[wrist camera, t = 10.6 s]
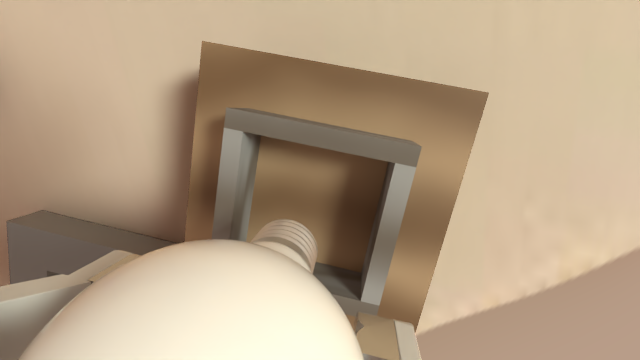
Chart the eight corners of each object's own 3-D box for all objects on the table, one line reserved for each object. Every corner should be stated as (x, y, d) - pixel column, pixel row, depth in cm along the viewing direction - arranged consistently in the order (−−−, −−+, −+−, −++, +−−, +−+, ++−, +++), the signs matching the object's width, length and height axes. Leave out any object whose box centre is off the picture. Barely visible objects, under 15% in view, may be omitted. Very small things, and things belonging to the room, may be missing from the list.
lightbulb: (198, 265, 14) (-269, 716, 4) (256, 144, 13) (-241, 295, 2) (318, 331, 14) (213, 971, 4) (390, 218, 13) (570, 731, 2)
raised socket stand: (242, 58, 23) (170, 27, 15) (455, 97, 22) (516, 88, 13) (219, 248, 27) (151, 313, 19) (400, 293, 26) (419, 385, 17)
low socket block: (42, 210, 29) (6, 221, 26) (192, 247, 28) (172, 263, 25) (46, 343, 33) (15, 365, 30) (179, 381, 31) (160, 409, 28)
